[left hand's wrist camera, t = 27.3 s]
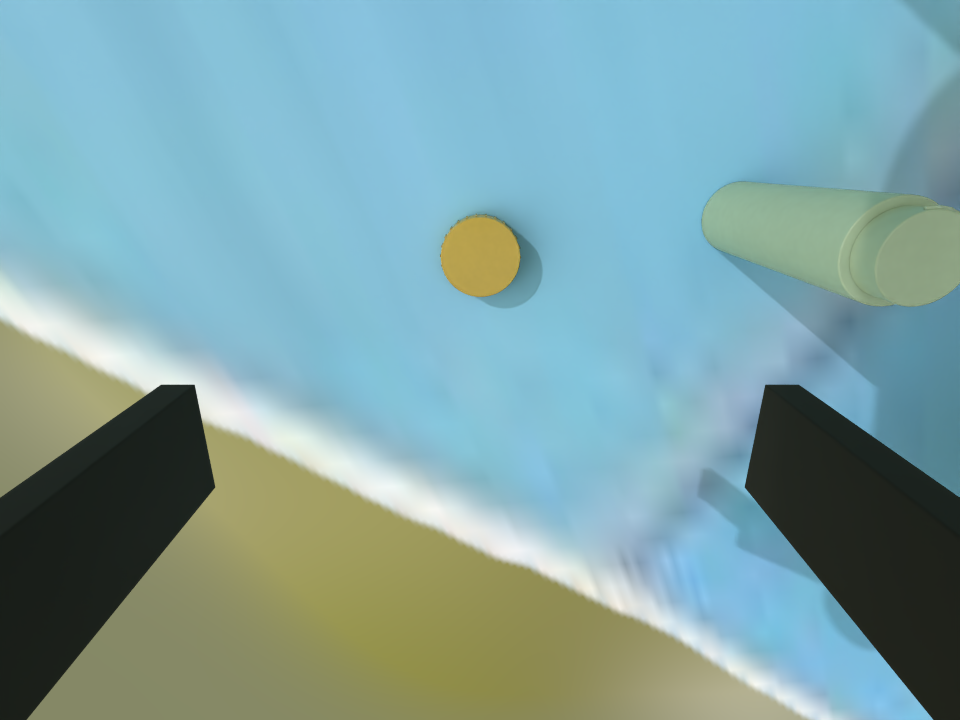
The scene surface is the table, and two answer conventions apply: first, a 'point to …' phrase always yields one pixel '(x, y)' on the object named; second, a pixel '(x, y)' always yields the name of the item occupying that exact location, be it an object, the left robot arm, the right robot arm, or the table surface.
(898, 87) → the table surface
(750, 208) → the jar
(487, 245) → the lid
